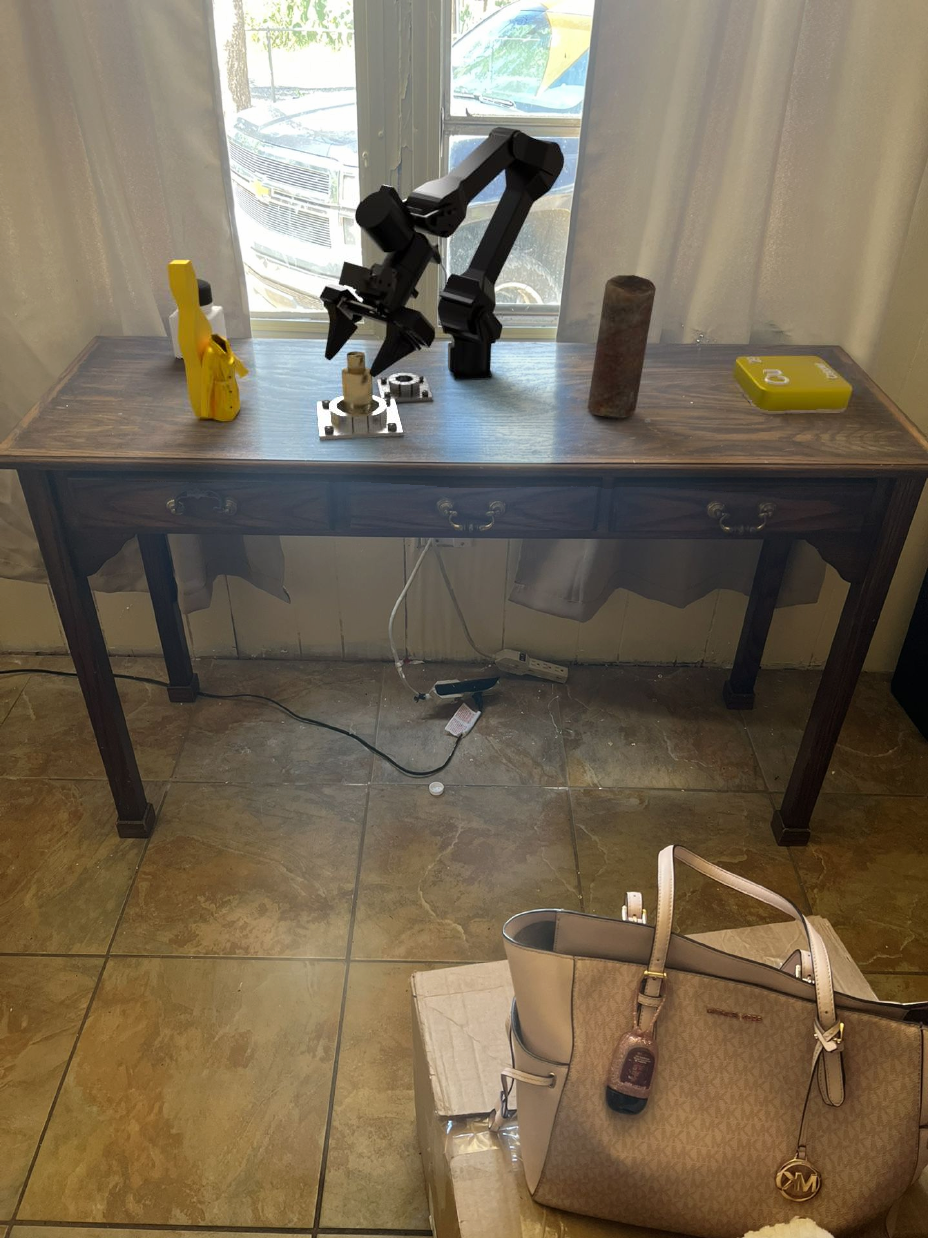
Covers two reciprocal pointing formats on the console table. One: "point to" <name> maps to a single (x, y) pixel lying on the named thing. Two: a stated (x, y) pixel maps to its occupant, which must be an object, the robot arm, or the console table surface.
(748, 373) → the element tile
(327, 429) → the flange large
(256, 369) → the console table surface
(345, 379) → the gold metal cylinder
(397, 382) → the flange small
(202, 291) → the medicine bottle
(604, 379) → the rusty brown cylinder
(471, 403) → the console table surface
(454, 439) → the console table surface
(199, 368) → the yellow tall sculpted piece
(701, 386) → the console table surface
